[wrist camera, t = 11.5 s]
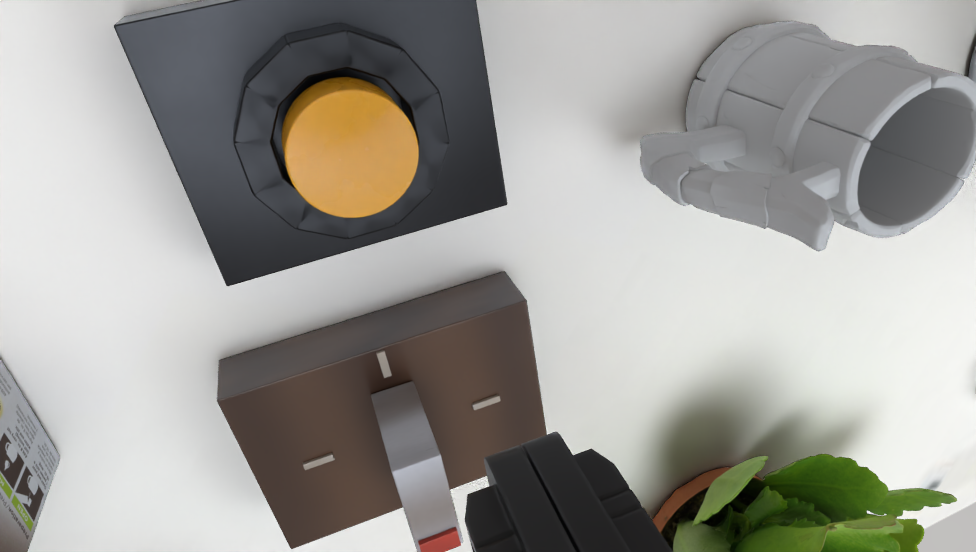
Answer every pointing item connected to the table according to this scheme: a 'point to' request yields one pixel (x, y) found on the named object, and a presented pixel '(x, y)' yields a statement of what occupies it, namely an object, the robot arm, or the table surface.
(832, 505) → the potted flower
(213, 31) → the button housing
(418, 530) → the dial knob
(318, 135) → the button
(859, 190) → the mug
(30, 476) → the coffee box
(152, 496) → the table surface
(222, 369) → the dial panel
